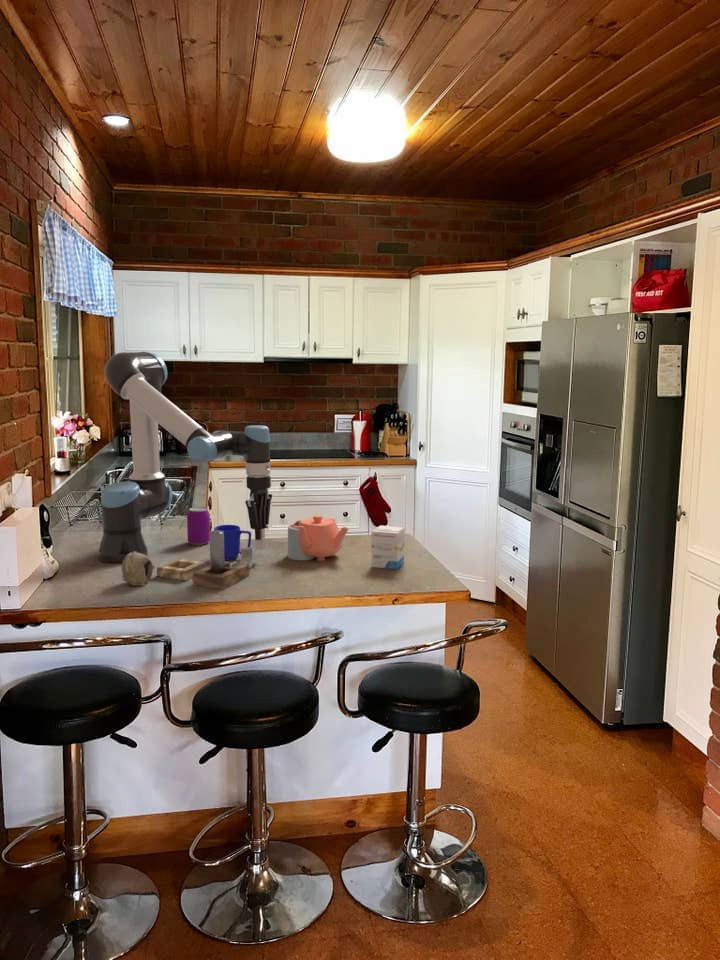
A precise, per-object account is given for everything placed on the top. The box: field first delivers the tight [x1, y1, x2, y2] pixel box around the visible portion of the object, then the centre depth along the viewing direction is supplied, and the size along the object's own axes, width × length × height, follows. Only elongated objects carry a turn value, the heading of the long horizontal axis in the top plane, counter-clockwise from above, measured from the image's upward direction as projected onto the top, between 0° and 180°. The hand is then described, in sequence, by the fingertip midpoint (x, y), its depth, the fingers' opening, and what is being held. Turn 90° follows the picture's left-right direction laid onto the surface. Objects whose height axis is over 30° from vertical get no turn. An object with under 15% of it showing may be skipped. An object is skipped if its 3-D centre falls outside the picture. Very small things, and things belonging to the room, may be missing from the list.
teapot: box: [293, 514, 349, 562], centre depth 248 cm, size 16×17×14 cm
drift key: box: [231, 546, 253, 569], centre depth 234 cm, size 8×3×6 cm, turn 158°
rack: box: [156, 557, 206, 582], centre depth 229 cm, size 10×10×3 cm
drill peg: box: [209, 529, 226, 574], centre depth 221 cm, size 4×4×15 cm
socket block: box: [192, 560, 250, 590], centre depth 223 cm, size 14×10×4 cm
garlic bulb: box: [121, 551, 155, 586], centre depth 220 cm, size 9×8×10 cm
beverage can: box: [186, 506, 211, 546], centre depth 263 cm, size 8×8×12 cm
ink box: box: [371, 525, 406, 570], centre depth 240 cm, size 9×8×12 cm
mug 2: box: [287, 523, 317, 561], centre depth 247 cm, size 14×9×10 cm
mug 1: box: [213, 524, 252, 561], centre depth 245 cm, size 8×12×10 cm
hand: (260, 548), depth 243 cm, fingers closed
